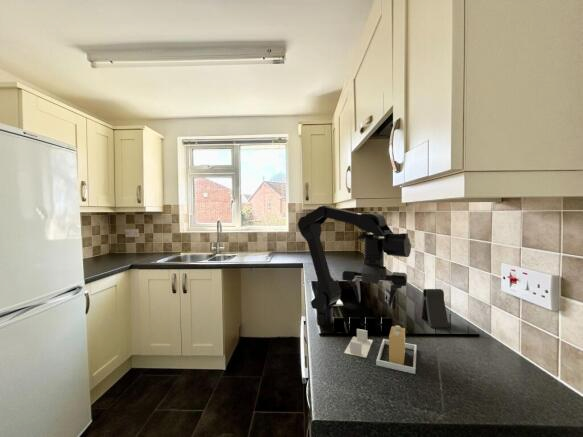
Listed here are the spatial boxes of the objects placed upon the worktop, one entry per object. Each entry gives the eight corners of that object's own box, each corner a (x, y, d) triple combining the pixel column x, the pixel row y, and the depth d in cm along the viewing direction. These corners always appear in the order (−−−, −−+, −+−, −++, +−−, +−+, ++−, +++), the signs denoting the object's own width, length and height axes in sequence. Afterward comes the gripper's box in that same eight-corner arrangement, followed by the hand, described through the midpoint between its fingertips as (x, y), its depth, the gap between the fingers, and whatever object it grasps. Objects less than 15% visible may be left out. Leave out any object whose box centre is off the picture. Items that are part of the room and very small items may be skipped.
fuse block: (353, 338, 85) (353, 326, 85) (372, 342, 82) (372, 330, 82) (343, 355, 75) (343, 341, 75) (366, 360, 72) (366, 346, 72)
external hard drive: (311, 301, 123) (338, 301, 124) (314, 307, 115) (343, 307, 116) (311, 298, 123) (338, 297, 124) (314, 304, 115) (343, 303, 116)
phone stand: (419, 318, 101) (419, 286, 101) (435, 318, 101) (435, 286, 101) (431, 328, 92) (431, 293, 92) (448, 328, 92) (448, 293, 92)
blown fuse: (391, 350, 76) (391, 323, 76) (405, 353, 75) (405, 325, 75) (389, 363, 70) (389, 333, 70) (403, 366, 69) (403, 335, 68)
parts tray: (383, 345, 80) (383, 338, 80) (416, 352, 76) (416, 345, 76) (376, 368, 69) (376, 360, 69) (415, 377, 65) (415, 368, 65)
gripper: (337, 256, 81) (337, 308, 81) (405, 260, 73) (405, 318, 73) (346, 251, 91) (346, 297, 91) (407, 254, 83) (407, 305, 83)
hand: (374, 304), depth 84 cm, fingers open, 9 cm apart
